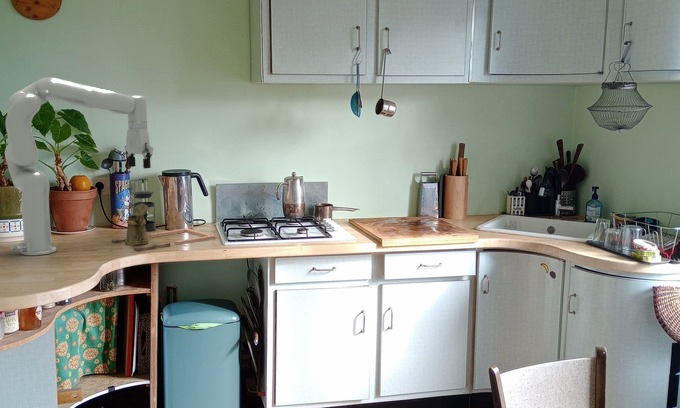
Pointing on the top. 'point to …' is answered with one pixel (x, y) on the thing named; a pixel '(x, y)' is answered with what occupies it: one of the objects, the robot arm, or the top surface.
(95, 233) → the top surface
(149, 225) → the french press
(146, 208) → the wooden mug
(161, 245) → the walnut dock
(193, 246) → the top surface
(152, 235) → the frame
